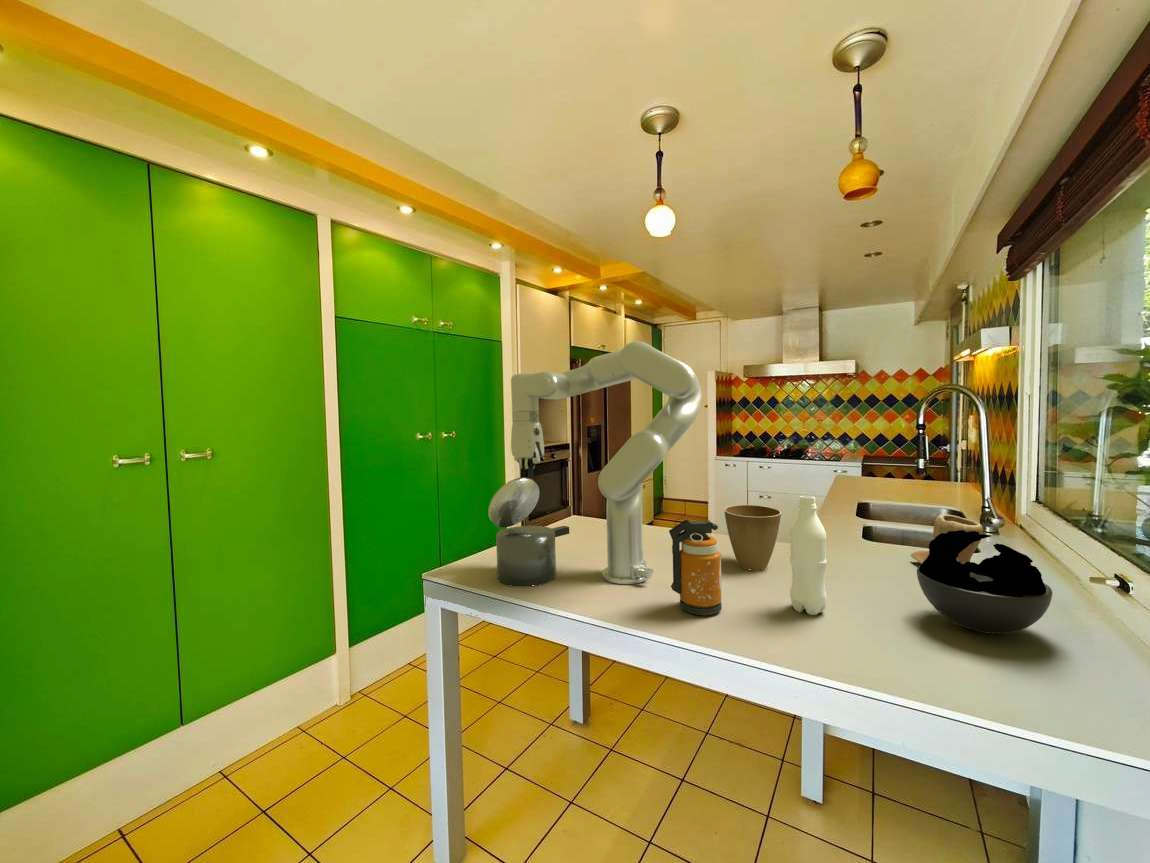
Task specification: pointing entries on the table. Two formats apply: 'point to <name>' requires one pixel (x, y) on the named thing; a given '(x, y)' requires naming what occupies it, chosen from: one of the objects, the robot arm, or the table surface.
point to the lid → (513, 502)
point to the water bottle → (808, 559)
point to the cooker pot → (527, 554)
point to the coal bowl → (983, 585)
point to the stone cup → (953, 524)
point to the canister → (696, 567)
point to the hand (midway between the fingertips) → (527, 482)
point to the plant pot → (752, 533)
